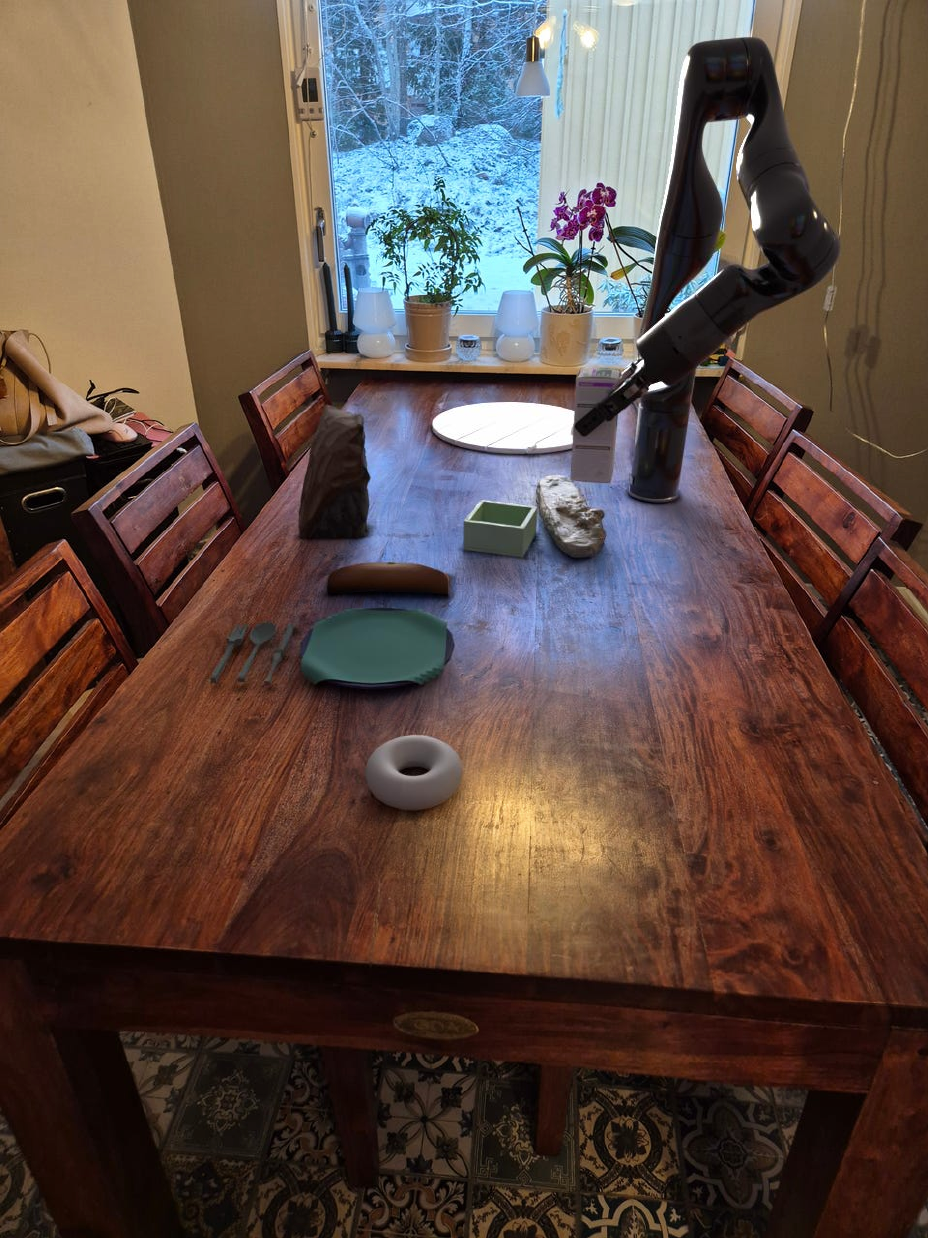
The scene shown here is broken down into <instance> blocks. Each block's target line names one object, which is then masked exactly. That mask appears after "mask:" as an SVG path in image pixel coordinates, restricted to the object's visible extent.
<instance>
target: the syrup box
mask: <svg viewBox="0 0 928 1238" xmlns="http://www.w3.org/2000/svg"><path fill="white" fill-rule="evenodd" d="M621 373H622V370H621V369H620V368H613V367H602V366H601V367H599V366H596V367H595V366H593V367H592V366H591V367H580V369H579V371H578V373H577V374H576V378H575V391H574V392H575V395H574V408H573V409H574V410H573V411H574V425H573V444H572V448H571V462H570V478H571V480H573V482H582V483H596V484H611V483H612V480H613V473H614V465H615V464H614V463H615V454H616V453H615V452H616V442H617V432H618V420H619V414H618V415H616V416H615V417H614V418H613V420H611V421H609V422H607V421H604V422H603V423H601V424H600V425H599V426H598V427H597V428H595V429H594V430H593V431H592V432H591V433H589V434H588V435H587V436H585V437H583V436H581V435H580V433H579V432H578V431H577V430H576V429H575V424H576V422H577V421H579V420H580V419H581V418H582V417H583V416H584V415H586V414H587V413H588V412H589V411H590V410H592V409H593V408H594V407H595V406H596V405H595V404H596V403H598V402H600V401H601V400H602V399H603V398H604V397H605V396H606V391H607V390H608V389H609V388H610V387H611V386H612V385H613V384H615V383H616V382H617V381H618V380H619V378H620V374H621ZM617 389H618V386H617V387H616V388H615V391H616V390H617ZM606 405H607V407H608V408H609V409H610V410H611V411H612V410H613V409H614V408H615V407H616V405H615V403H614V402H613V401H609V402H608V403H607V404H606Z"/></svg>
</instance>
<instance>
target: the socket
mask: <svg viewBox="0 0 928 1238" xmlns="http://www.w3.org/2000/svg"><path fill="white" fill-rule="evenodd" d="M537 522H538V506H536V505H535V506H534V505H528V504H527V505H526V504H518V503H509V502H501V501H493V500H483V499H480V500H479V501H478V502H477V504H476V505H475V506H474V507H473V509H472V510H471V511H470V513H468V515H467V516H466V518H465V519H464V520H463V534H462V535H463V537H462V539H463V540H462V541H463V542H462V543H463V546H462V548H463V551H470V552H476V553H477V552H478V553H484V554H492V555H500V556H507V557H515V558H522V559H523V558H524V556H525V555H526V552H527V550H528V549H529V547H530V546H531V544H532V543H533V540H534V539H535V537H536V535H537V524H538V523H537Z"/></svg>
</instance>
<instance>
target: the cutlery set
mask: <svg viewBox="0 0 928 1238" xmlns="http://www.w3.org/2000/svg"><path fill="white" fill-rule="evenodd" d="M249 625H250V624H249V622H247V623H246V624H245V623H244V622H242V623H241V622H237V624H236V625H235V628H234V629H233V630H232V631H231V633H230V634H229V635H228V637H226V643H227V646H226V649H225V651H224V654H223V655H222V657H221V659H220V661H219V662H218V664H217V666H216V667H215V668H214V670H213V672H212V674H211V676H210V677H209V680H210V684H217V682H218V681H219V679H220V676H221V675H222V672H223V671H224V669H225V667H226V666H227V664H228V662H229V660H230V658H231V655H232V653H233V650H234V648H237V647H238V646H240V645H241V644H243V641H244V638H245V635H246V633H247V630H248V628H249ZM276 629H277V627H276V625H275V624H274V622H272V621H262V622H261V623H259V624H257V625H255V626H254V628H253V629H252V630H251V631H250V632H249V633H250V634H249V639H250V641H251V642H252V643H253V644H254V645H255V647H254V648H253V650H252V652H251V653H250V655H249V656H248V657H247V660H246V662H245V663H244V665H243V667H242V669H241V670H240V673H239V675H238V676H237V683H246V680H247V677H248V674H249V672H250V671H251V670H250V669H251V667H252V666H253V665H252V664H253V662H254V660H255V658H256V656H257V653H258V651H259V649H260V648H261V647H262V646H263V645H264V644H266V643H268V642H270V641H272V640H273V638H274V637H275V635H276V632H277V631H276ZM293 632H294V625H293V623H291V622H289V623H288V625H287V627H286V630H285V631H284V635H283V637H282V640H281V642H280V644H279V647H278V648H277V649H274V654H272V663H271V666H270V669H269V673H268V675H267V677H266V679H265V680H264V681H263V684H264V687H266V686H267V687H270V686H271V680H272V676H273V674H274V671H275V670H276V669H277V668H276V667H277V665H278V663H279V662H281V661H282V658H284V657H285V650H286V648H287V647H288V645H289V643H290V640H291V637H292V636H293ZM455 648H456V644H455V640H454V636H453V633H452V632H451V630H450V629H449V628H448V622H446V621H445V620H443V619H441V618H439V617H438V616H436V615H434V614H432V613H430V612H427V611H425V610H423V609H419V608H409V609H408V608H399V607H388V606H382V607H366V608H365V607H364V608H347V609H345V610H342V611H340V612H337V613H334V614H333V615H329V616H327V617H325V618H322V619H320V620H318V621H316V622H315V623H314V625H313V627H312V628H311V629H309V630H308V631H307V632H306V634H305V636H304V637H303V639H301V641H300V647H299V657H300V660H301V662H300V669H301V673H302V675H303V676H304V677H305V678H306V679H307V680H308V681H309V682H310V683H311V684H313V685H315V686H316V685H317V684H318V683H319V682H321V681H324V682H326V683H327V682H328V683H330V684H333V685H337V686H339V687H343V688H351V689H361V690H381V689H396V688H399V687H402V686H407V685H410V684H414V683H417V684H419V685H421V686H422V685H423V684H426V683H428V682H429V681H431V680H434V679H436V678H438V677H440V676H441V675H442V673H443V672H444V667H445V665H447V663H448V662H450V661H451V658H452V656H453V652H454V650H455Z"/></svg>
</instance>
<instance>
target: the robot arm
mask: <svg viewBox="0 0 928 1238" xmlns="http://www.w3.org/2000/svg"><path fill="white" fill-rule="evenodd" d="M776 71H777V70H776V66H775V63H774V59H773V56H772V53H771V50H770V49H769V47H768V45H767V43H766V42H765V41H764V40H763V39H761V38H759V37H754V36H741V37H730V38H723V39H722V38H721V39H712V40H705V41H704V40H703V41H699V42H697V43H694V44H693V45H692V46H691V47H690V48H689V49H688V51H687V54H686V55H685V59H684V61H683V65H682V69H681V73H680V79H679V80H680V81H679V86H678V87H679V88H678V95H677V105H676V113H675V114H676V115H675V125H674V133H673V135H674V136H673V144H672V152H671V153H672V154H671V161H670V166H669V173H668V178H667V184H666V189H665V194H664V199H663V205H662V207H661V208H662V209H661V213H660V218H659V225H658V230H657V237H656V243H655V251H654V259H653V264H652V265H653V267H652V273H651V279H650V285H649V289H648V292H647V297H646V301H645V306H644V310H643V313H642V314H643V315H642V318H641V321H640V322H641V323H640V325H639V331H638V336H637V341H636V357H637V359H636V360H635V362H634V361H631V362H630V363H629V364H628V365H626V367H624V369H623V370H622V371H621V374H620V378H619V380H618V381H617V382H616V383H615V384H613V385H612V386H611V387H610V388H609V389H608V390H607V391H606V396H605V397H604V398H603V399H602V400H601V401H600V402H598V403H596V404H595V405H596V406H595V407H594V408H593V409H592V410H590V411H589V412H588V413H587V414H586V415H584V416H583V417H582V418H581V419H580V420H579V421H577V422H576V424H575V429H576V430H577V431H578V432H579V433H580V435H581V436H583V437H585V436H587V435H588V434H589V433H591V432H592V431H593V430H594V429H595V428H597V427H598V426H599V425H600V424H601V423H603V422H604V421H607V422H609V421H611V420H613V418H614V417H615V416H616V415H618V416H619V414H620V413H622V412H623V411H625V410H626V409H627V408H629V407H630V406H631V405H632V404H633V406H634V407H635V409H636V412H637V420H636V421H637V422H636V430H635V436H634V443H633V451H632V463H631V470H630V471H631V473H630V472H628V481H629V487H628V495H629V496H630V497H631V498H633V499H635V500H638V501H641V502H645V503H655V504H665V503H670V502H673V501H676V500H677V499H678V497H679V487H680V481H681V474H682V468H683V461H684V454H685V448H686V441H687V433H688V427H689V419H690V412H691V406H692V399H693V393H694V388H695V387H694V386H695V379H696V373H697V368H698V367H699V366H700V365H702V364H703V363H704V362H705V361H706V360H707V359H709V358H710V357H711V356H712V355H714V354H715V353H716V352H717V351H718V350H719V349H720V348H721V347H722V346H723V345H724V344H725V343H726V342H727V341H728V340H729V339H731V338H732V337H733V336H734V335H736V334H737V332H739V331H740V330H741V329H743V328H744V327H745V326H747V325H748V324H749V323H750V322H751V321H752V320H753V319H755V318H756V317H757V316H758V315H760V314H762V313H764V312H767V311H769V310H771V309H774V308H776V307H777V306H780V305H781V304H783V303H786V302H788V301H789V300H791V299H793V298H795V297H797V296H799V295H801V294H803V293H805V292H807V291H808V290H810V289H812V288H814V287H816V285H818V284H819V283H820V282H821V281H823V279H825V278H826V277H827V276H828V275H829V274H830V273H831V271H832V270H833V268H834V267H835V266H836V264H837V262H838V260H839V257H840V254H841V247H842V246H841V241H840V238H839V236H838V234H837V233H836V231H835V230H834V229H833V227H832V226H831V225H830V223H829V222H828V220H827V219H826V217H825V216H824V214H823V213H822V212H821V210H820V209H819V207H818V205H817V204H816V202H815V200H814V199H813V197H812V195H811V188H810V183H809V178H808V176H807V174H806V171H805V169H804V167H803V165H802V162H801V161H800V158H799V156H798V155H797V154H798V153H797V152H796V150H795V148H794V145H793V143H792V140H791V137H790V134H789V130H788V126H787V121H786V117H785V116H786V115H785V110H784V106H783V100H782V95H781V90H780V85H779V80H778V76H777V73H776ZM741 119H747V120H748V121H749V122H750V128H749V130H748V133H747V134H746V136H745V138H744V140H743V143H742V145H741V147H740V149H739V153H738V156H737V161H736V178H737V182H738V186H739V189H740V191H741V194H742V196H743V199H744V202H745V203H746V206H747V208H748V211H749V212H750V223H751V230H752V234H753V237H754V239H755V242H756V245H757V246H758V248H759V250H760V251H761V253H762V255H763V256H764V257H765V259H766V260H767V261H768V262H766V263H764V264H762V265H761V266H758V267H756V268H753V269H752V268H751V269H750V268H747V267H745V266H743V265H741V264H738V263H731V264H729V265H727V266H725V267H724V268H722V269H721V270H720V271H719V272H718V273H716V274H715V275H714V276H713V277H712V278H711V279H709V280H708V281H707V282H706V283H705V284H704V285H703V286H701V288H699V289H698V290H697V291H696V292H694V293H693V294H692V295H690V296H689V297H688V298H685V300H683V301H681V302H680V303H679V304H678V305H676V306H675V307H674V308H673V309H672V310H670V312H668V310H669V308H670V306H671V304H672V303H673V302H674V300H675V299H676V297H677V296H678V295H679V294H680V293H681V292H682V291H683V289H685V288H686V287H687V286H688V285H689V284H691V282H692V281H693V280H694V279H695V278H696V277H697V276H698V275H699V274H700V273H701V272H702V271H703V270H704V269H705V267H706V266H707V265H708V263H709V262H710V261H711V259H712V258H713V256H714V254H715V252H716V249H717V244H718V239H719V236H720V231H721V227H722V223H723V218H724V204H723V200H722V197H721V194H720V191H719V189H718V187H717V185H716V182H715V179H714V178H713V176H712V174H711V171H710V170H709V167H708V164H707V161H706V158H705V155H704V150H703V137H704V131H705V129H706V128H705V127H706V125H707V124H708V123H715V122H716V123H717V122H728V121H735V120H736V121H737V120H741ZM655 379H658V380H659V382H656V383H653V384H652V382H653V381H654V380H655ZM617 386H618V389H617V390H616V391H615V388H616V387H617ZM638 399H639V401H638V402H637V400H638ZM609 401H613V402H614V403H615V405H616V407H615V408H614V409H613V410H612V411H611V410H610V409H609V408H608V407H607V405H606V404H607V403H608V402H609Z"/></svg>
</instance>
